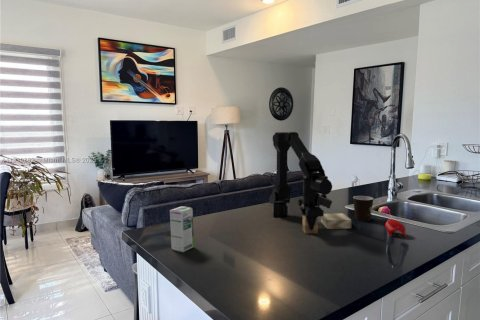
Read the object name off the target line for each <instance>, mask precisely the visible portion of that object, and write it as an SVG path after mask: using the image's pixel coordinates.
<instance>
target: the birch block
mask: <svg viewBox="0 0 480 320" xmlns="http://www.w3.org/2000/svg"><path fill="white" fill-rule="evenodd" d="M320 223H321V224H322V225H323V226H324V227H325V228H326V230H327V229H329V230H333V229H336V230H338V229H339V230H340V229H352V219H351V218H350V217H349V216H348V215H346V214H345V213H324V216H320Z"/></svg>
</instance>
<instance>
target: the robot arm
mask: <svg viewBox="0 0 480 320" xmlns="http://www.w3.org/2000/svg"><path fill="white" fill-rule="evenodd" d="M272 143H273V144H272V145H273V147H274V149H275V151H276V182H275V183H274V185H273V187H272V193H271V194H270V196H269V197H268V200H269V204H272V212H271V214H272V217H273V218H286V217H287V218H288V214H289V212H288V211H289V210H288V204H290V203H291V198H292V186H290V185H289V183H288V152H289V150H290V148H291V149H292V150H293V152H294V153H295V155H296V157H297V159H298V166H299V168H300V171H301V172H302V174H301V175H300V177H301V178H302V190H301V194H302V198H299V200H297V202H298V203H297V206H298V207H299V209H300V211H301V214H302V216H303V215H305V217H306V220H307V223H308V225H309V228H310V230H313V228H314V224H315V221H316V218H319V217H321V216H324V214H325V213H324V212H325V211H324V210H323V209H322V208H321V206H322V207H325V208H327V209H329V210H330V209H331V207H332V203H333V201H332V200H331V199H330V198H328V197H327V195H329V194H330V193H331V191H332V189H333V183H332V182H331V181H330V180H329V177H328V176H327V175H326V172H325V170H324V168H323V166H322V163H321V161H320V160H319V158H318V157H317V156H316V155H315V154H312V153H311V152H310V151H309V150H308V148H307V147H306V146H305V144H304V143H303V141H302V139H301V138H300V136H299V133H298V132H296V131H287V132H286V131H283V132H282V131H277V132H275V133H274V134H273V135H272Z"/></svg>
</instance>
